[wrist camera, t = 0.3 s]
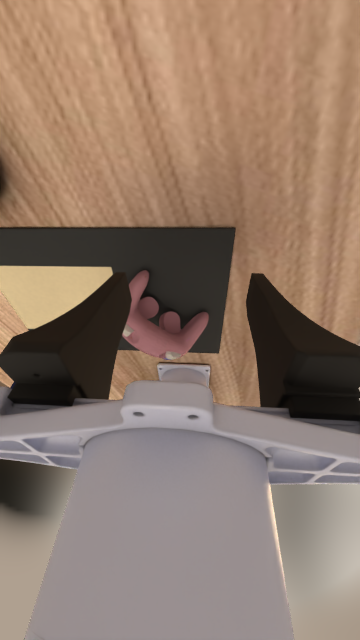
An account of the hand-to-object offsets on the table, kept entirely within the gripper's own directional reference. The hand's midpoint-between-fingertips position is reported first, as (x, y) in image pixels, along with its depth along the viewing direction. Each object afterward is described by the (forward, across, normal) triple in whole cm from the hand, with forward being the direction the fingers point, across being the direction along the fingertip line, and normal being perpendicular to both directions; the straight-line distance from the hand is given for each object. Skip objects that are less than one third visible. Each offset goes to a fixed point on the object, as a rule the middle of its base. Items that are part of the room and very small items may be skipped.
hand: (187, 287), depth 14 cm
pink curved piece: (+10, +3, +10) cm, 14 cm away
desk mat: (+10, +9, +10) cm, 17 cm away
